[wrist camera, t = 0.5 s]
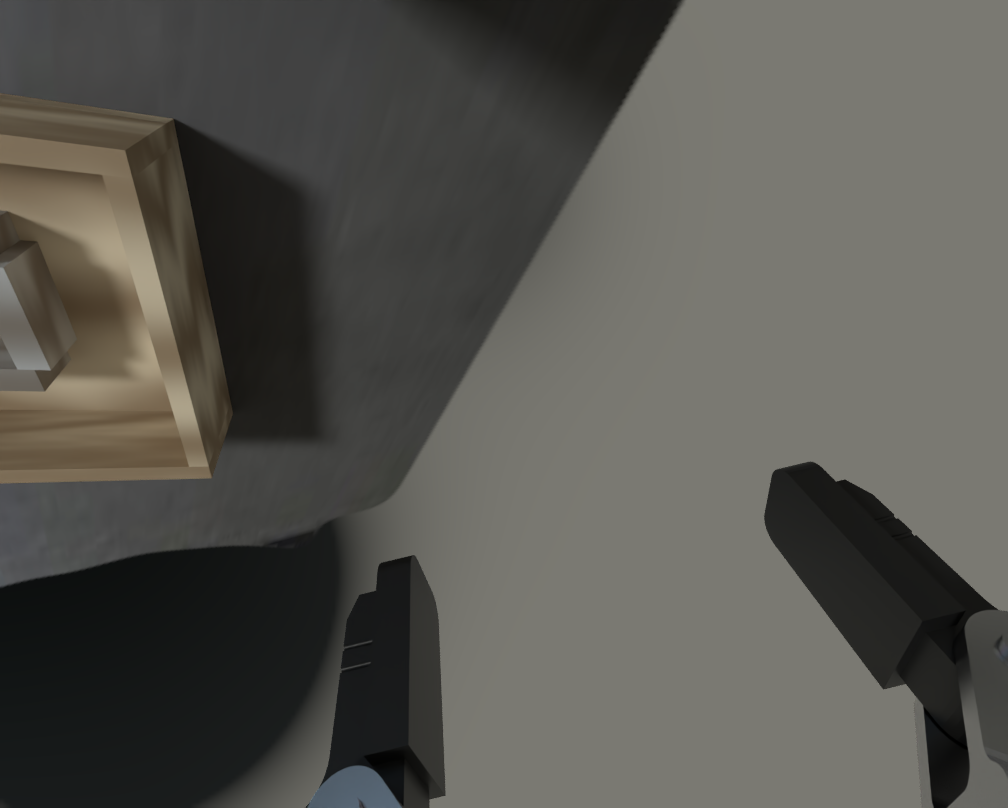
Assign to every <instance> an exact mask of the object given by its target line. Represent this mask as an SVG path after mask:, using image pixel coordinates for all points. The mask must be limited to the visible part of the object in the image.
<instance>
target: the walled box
mask: <svg viewBox="0 0 1008 808" xmlns="http://www.w3.org/2000/svg"><path fill="white" fill-rule="evenodd" d="M232 415H233V411H232V406H231V401H230V396H229V391H228V386H227V381H226V376H225V371H224V366H223V361H222V356H221V351H220V346H219V341H218V336H217V331H216V327H215V322H214V317H213V312H212V307H211V302H210V297H209V292H208V287H207V282H206V277H205V272H204V267H203V262H202V257H201V252H200V247H199V243H198V238H197V233H196V228H195V223H194V218H193V213H192V208H191V203H190V198H189V193H188V188H187V183H186V178H185V173H184V168H183V164H182V159H181V154H180V149H179V144H178V139H177V134H176V129H175V124H174V119H172V118H165V117H158V116H152V115H145V114H138V113H131V112H125V111H118V110H111V109H104V108H97V107H91V106H84V105H77V104H70V103H63V102H57V101H50V100H43V99H36V98H30V97H23V96H16V95H9V94H2V93H0V483H34V482H75V481H116V480H156V479H197V478H212V476H213V473H214V470H215V467H216V464H217V461H218V457H219V454H220V451H221V448H222V445H223V442H224V439H225V436H226V433H227V430H228V427H229V424H230V421H231V418H232Z"/></svg>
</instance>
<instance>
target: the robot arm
mask: <svg viewBox="0 0 1008 808" xmlns="http://www.w3.org/2000/svg"><path fill="white" fill-rule="evenodd" d="M764 517H765V518H764V519H765V525H766V529H767V531H768V534H769V536H770V538H771V540H772V541H773V543H774V544H775V546H776V547H777V548H778V550H779V551H780V552H781V554H782V555H783V556H784V558H785V559H786V560H787V562H788V563H789V564H790V566H791V567H792V568H793V570H794V571H795V572H796V574H797V575H798V576H799V578H800V579H801V580H802V582H803V583H804V584H805V586H806V587H807V588H808V590H809V591H810V592H811V594H812V595H813V596H814V598H815V599H816V600H817V602H818V603H819V604H820V606H821V607H822V608H823V610H824V611H825V612H826V614H827V615H828V616H829V618H830V619H831V620H832V622H833V623H834V624H835V626H836V627H837V628H838V630H839V631H840V632H841V634H842V635H843V636H844V638H845V639H846V640H847V642H848V643H849V644H850V646H851V647H852V648H853V650H854V651H855V652H856V654H857V655H858V656H859V658H860V659H861V660H862V662H863V663H864V664H865V666H866V667H867V668H868V670H869V671H870V672H871V674H872V675H873V676H874V678H875V679H876V680H877V681H878V683H879V684H880V686H881V687H882V688H883V689H887V688H891V687H895V686H899V685H903V684H907V686H908V687H909V688H910V690H911V691H912V692H913V693H914V695H915V696H916V699H915V703H914V713H915V726H916V738H917V752H918V764H919V778H920V790H921V804H922V808H1008V612H1007V611H1000V610H998V609H997V608H995V607H994V606H992V605H991V604H990V603H989V602H987V601H986V600H985V599H984V598H983V597H982V596H981V595H979V594H978V593H977V592H976V591H975V590H974V589H973V588H972V587H971V586H970V585H969V584H968V583H967V582H966V581H965V580H964V579H962V578H961V577H960V576H959V575H958V574H957V573H956V572H955V571H954V570H953V569H952V568H951V567H950V566H948V565H947V564H946V563H945V562H944V561H943V560H942V559H941V558H940V557H939V556H938V555H937V554H936V553H935V552H934V551H932V550H931V549H930V548H929V547H928V546H927V545H926V544H925V543H924V542H923V541H922V540H921V539H920V538H919V537H917V536H914V535H913V534H912V531H911V530H910V529H909V528H908V527H907V526H906V525H905V524H904V523H902V521H900V520H899V519H896V518H895V517H894V514H893V513H892V512H891V511H889V509H888V508H887V507H886V506H884V505H883V504H882V503H881V502H880V501H879V500H878V499H877V498H876V497H875V496H874V495H873V494H871V493H869V492H867V491H865V490H863V489H862V488H860V487H858V486H856V485H854V484H852V483H850V482H849V481H847V480H841V481H837V482H836V481H835V480H834V479H833V478H832V477H831V476H830V475H829V474H828V473H827V472H826V471H824V469H823V468H822V467H820V466H819V465H818V464H816V463H814V462H806V463H802V464H798V465H793V466H789V467H785V468H781V469H777V470H775V471H774V472H773V474H772V478H771V483H770V488H769V494H768V499H767V504H766V510H765V516H764ZM341 669H342V673H340V680H339V687H338V695H337V703H336V711H335V719H334V727H333V735H332V743H331V750H330V758H329V763H328V767H327V770H326V774H325V776H324V779H323V781H322V783H321V785H320V787H319V789H318V790H317V792H316V793H315V795H314V796H313V798H312V800H311V802H310V803H309V804H308V805H307V806H306V808H429V799H433V798H437V797H441V796H445V773H444V747H443V722H442V699H441V698H442V696H441V674H440V673H441V672H440V647H439V623H438V613H437V608H436V602H435V599H434V596H433V593H432V591H431V588H430V586H429V584H428V582H427V580H426V577H425V575H424V573H423V571H422V569H421V566H420V564H419V562H418V560H417V558H416V557H415V556H414V555H412V556H408V557H404V558H400V559H395V560H392V561H387V562H383V563H381V564H380V565H379V567H378V573H377V586H376V591H374V592H370V593H365V594H361V595H359V597H358V599H357V601H356V603H355V605H354V607H353V609H352V611H351V613H350V615H349V617H348V619H347V624H346V632H345V640H344V651H343V656H342V664H341Z"/></svg>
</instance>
